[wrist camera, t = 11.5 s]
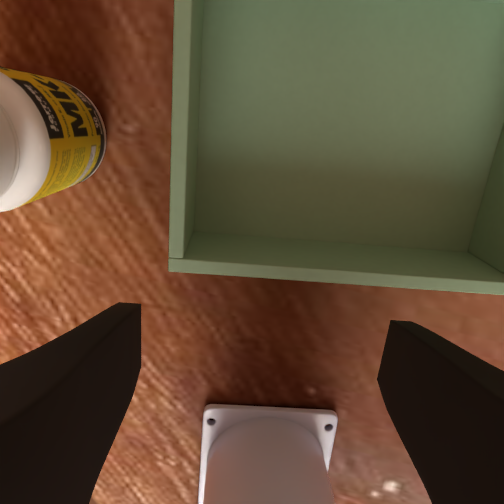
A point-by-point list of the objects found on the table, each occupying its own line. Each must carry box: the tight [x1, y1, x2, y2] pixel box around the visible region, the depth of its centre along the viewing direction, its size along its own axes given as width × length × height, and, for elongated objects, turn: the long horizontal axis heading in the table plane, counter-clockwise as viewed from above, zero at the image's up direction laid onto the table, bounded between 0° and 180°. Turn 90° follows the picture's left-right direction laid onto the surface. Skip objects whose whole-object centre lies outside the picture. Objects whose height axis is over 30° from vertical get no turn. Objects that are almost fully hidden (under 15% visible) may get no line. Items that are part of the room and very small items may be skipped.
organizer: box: [168, 0, 504, 295], centre depth 16 cm, size 12×15×4 cm
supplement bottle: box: [0, 67, 106, 212], centre depth 14 cm, size 5×5×8 cm
